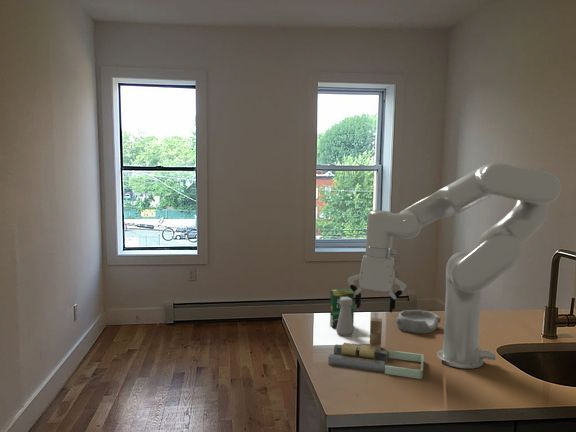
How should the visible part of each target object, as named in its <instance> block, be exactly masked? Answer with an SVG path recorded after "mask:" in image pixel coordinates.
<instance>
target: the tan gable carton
mask: <svg viewBox="0 0 576 432" xmlns="http://www.w3.org/2000/svg"><path fill="white" fill-rule="evenodd" d="M382 327H383V318H378V317H371V320H370V332H369V333H370V335H369V346H375V347H376V350H382V349H381V348H382V330H383V329H382Z"/></svg>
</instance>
